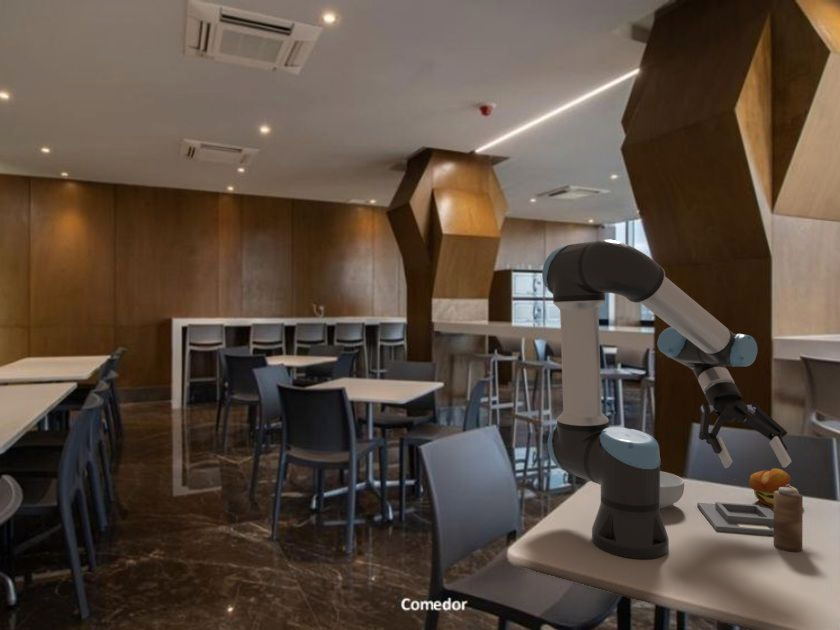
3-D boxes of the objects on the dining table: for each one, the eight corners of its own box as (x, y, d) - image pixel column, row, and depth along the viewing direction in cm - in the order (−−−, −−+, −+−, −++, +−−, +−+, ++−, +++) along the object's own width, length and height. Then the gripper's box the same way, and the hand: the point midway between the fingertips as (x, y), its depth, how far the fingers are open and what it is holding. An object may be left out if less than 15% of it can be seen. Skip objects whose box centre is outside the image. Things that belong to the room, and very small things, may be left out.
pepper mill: (779, 550, 113) (779, 492, 113) (769, 541, 118) (769, 485, 118) (806, 553, 112) (807, 494, 112) (796, 543, 117) (796, 486, 117)
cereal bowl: (672, 495, 148) (672, 469, 148) (693, 518, 131) (694, 488, 131) (606, 492, 150) (606, 466, 150) (619, 514, 134) (619, 485, 134)
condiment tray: (716, 530, 124) (716, 519, 124) (697, 506, 139) (697, 496, 139) (796, 537, 120) (796, 525, 120) (768, 511, 136) (768, 501, 136)
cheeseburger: (812, 512, 135) (801, 472, 136) (765, 519, 137) (755, 480, 138) (793, 497, 145) (783, 460, 146) (749, 504, 147) (740, 468, 148)
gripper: (760, 398, 143) (802, 472, 128) (666, 398, 142) (697, 473, 127) (774, 380, 138) (820, 455, 123) (676, 380, 137) (710, 456, 122)
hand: (758, 464), depth 125 cm, fingers open, 13 cm apart
